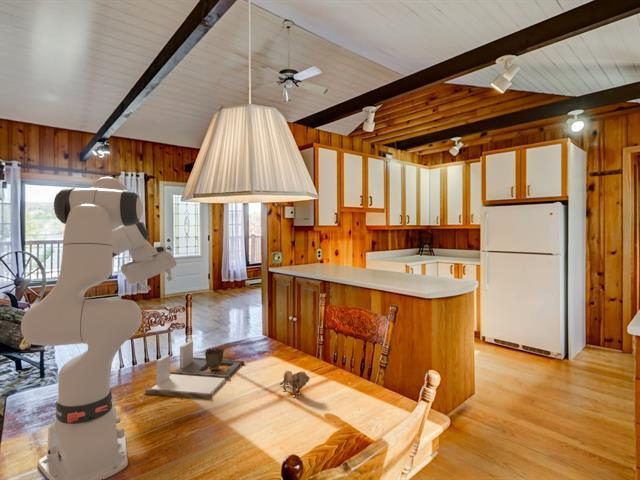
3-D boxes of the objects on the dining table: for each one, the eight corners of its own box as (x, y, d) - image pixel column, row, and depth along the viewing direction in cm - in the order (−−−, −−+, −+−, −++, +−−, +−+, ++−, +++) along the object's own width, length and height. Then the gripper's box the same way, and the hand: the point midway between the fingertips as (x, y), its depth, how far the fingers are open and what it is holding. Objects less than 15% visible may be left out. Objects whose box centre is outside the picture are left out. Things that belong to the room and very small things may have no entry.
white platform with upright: (225, 380, 136) (225, 355, 136) (209, 396, 122) (209, 368, 122) (171, 376, 139) (171, 351, 138) (150, 391, 125) (150, 364, 125)
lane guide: (244, 364, 154) (244, 360, 154) (210, 399, 121) (210, 394, 121) (191, 360, 157) (191, 357, 157) (145, 393, 124) (145, 389, 124)
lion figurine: (311, 397, 124) (312, 371, 124) (300, 401, 120) (300, 375, 120) (284, 383, 135) (285, 360, 135) (273, 387, 131) (274, 363, 131)
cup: (220, 373, 143) (220, 353, 143) (202, 372, 143) (202, 353, 143) (225, 366, 151) (225, 347, 151) (208, 366, 151) (208, 347, 151)
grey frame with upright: (240, 364, 153) (241, 342, 152) (228, 377, 139) (229, 352, 139) (192, 361, 156) (192, 338, 155) (176, 373, 142) (176, 348, 142)
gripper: (120, 263, 139) (137, 294, 139) (168, 245, 153) (184, 273, 153) (116, 268, 143) (133, 298, 143) (164, 249, 158) (179, 277, 157)
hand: (160, 285), depth 148 cm, fingers open, 8 cm apart
